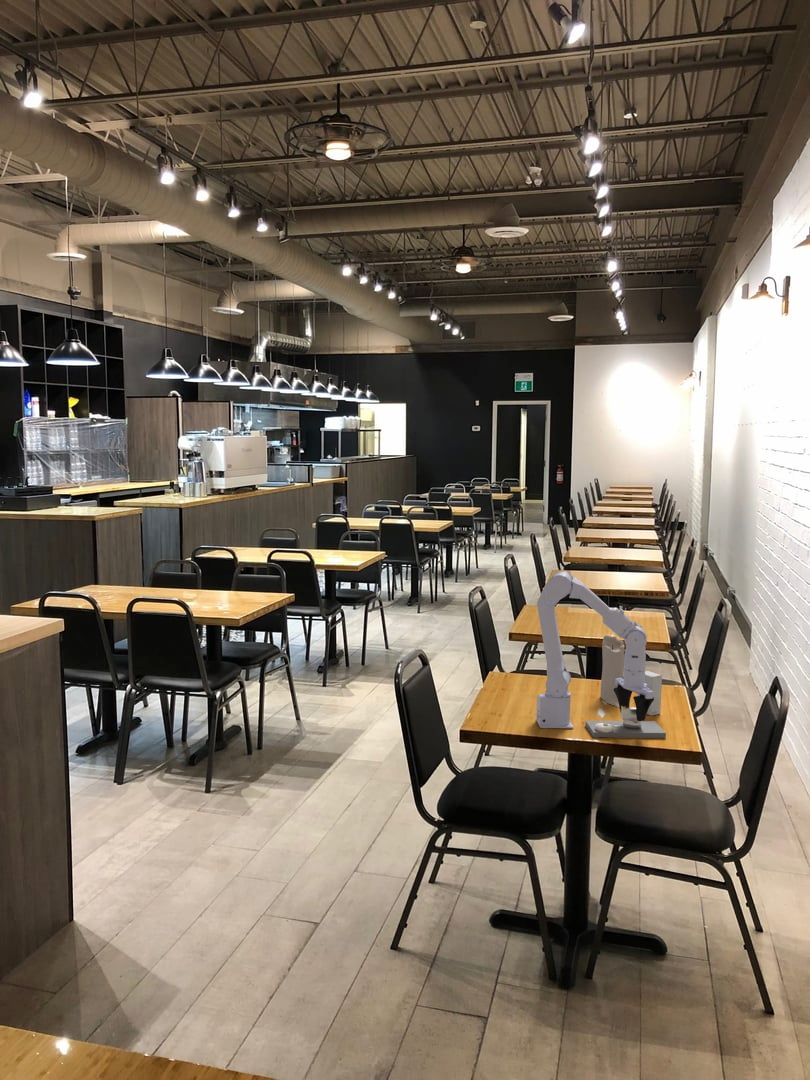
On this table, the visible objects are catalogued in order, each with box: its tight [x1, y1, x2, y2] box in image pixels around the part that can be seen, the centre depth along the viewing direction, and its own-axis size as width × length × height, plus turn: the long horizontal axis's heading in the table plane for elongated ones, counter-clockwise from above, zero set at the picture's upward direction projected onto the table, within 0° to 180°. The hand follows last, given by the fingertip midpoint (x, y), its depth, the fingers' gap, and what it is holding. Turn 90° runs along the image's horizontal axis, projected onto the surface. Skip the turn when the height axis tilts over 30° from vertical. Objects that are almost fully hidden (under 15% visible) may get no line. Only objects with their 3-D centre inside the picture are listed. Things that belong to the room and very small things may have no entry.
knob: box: [620, 705, 642, 729], centre depth 238 cm, size 6×5×6 cm
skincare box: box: [636, 670, 663, 716], centre depth 256 cm, size 6×4×12 cm
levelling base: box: [584, 720, 667, 739], centre depth 238 cm, size 20×10×3 cm, turn 90°
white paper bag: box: [599, 635, 631, 709], centre depth 266 cm, size 7×14×20 cm, turn 9°
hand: (632, 716), depth 238 cm, fingers open, 7 cm apart
